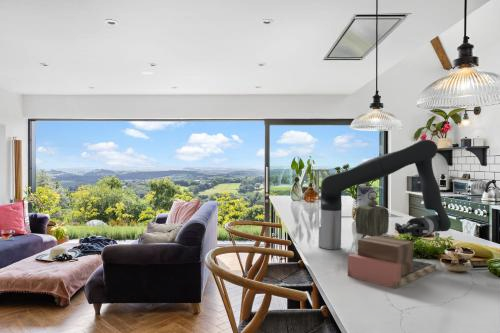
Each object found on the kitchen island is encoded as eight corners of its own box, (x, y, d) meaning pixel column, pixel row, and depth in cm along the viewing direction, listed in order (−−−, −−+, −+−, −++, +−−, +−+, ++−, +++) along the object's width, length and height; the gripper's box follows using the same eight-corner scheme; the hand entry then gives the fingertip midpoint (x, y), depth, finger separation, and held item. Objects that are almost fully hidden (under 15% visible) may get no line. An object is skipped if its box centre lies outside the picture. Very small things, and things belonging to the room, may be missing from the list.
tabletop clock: (374, 239, 191) (375, 190, 191) (389, 242, 184) (390, 191, 183) (355, 242, 183) (356, 191, 183) (370, 245, 176) (371, 192, 175)
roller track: (391, 260, 150) (391, 242, 150) (436, 269, 137) (436, 250, 137) (347, 275, 128) (348, 255, 128) (396, 288, 116) (396, 266, 116)
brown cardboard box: (374, 262, 138) (375, 235, 138) (412, 270, 127) (413, 241, 127) (357, 268, 130) (357, 239, 129) (396, 278, 119) (397, 246, 119)
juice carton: (376, 231, 212) (377, 183, 211) (371, 234, 203) (372, 184, 203) (360, 229, 217) (361, 183, 216) (355, 232, 208) (355, 184, 207)
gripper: (404, 215, 153) (383, 218, 141) (438, 219, 143) (419, 223, 132) (403, 233, 153) (382, 238, 142) (437, 239, 144) (417, 244, 132)
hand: (400, 231), depth 137 cm, fingers closed
